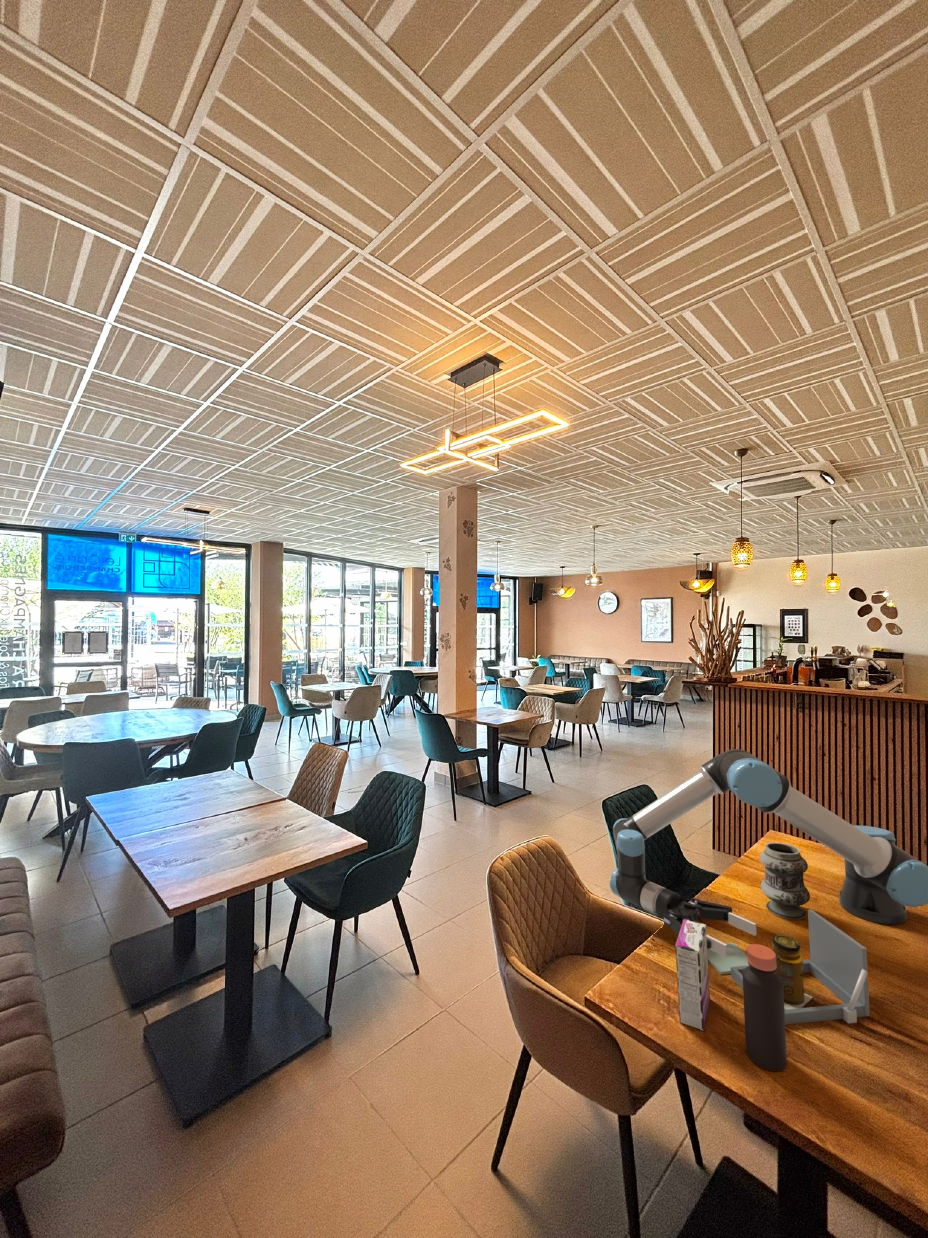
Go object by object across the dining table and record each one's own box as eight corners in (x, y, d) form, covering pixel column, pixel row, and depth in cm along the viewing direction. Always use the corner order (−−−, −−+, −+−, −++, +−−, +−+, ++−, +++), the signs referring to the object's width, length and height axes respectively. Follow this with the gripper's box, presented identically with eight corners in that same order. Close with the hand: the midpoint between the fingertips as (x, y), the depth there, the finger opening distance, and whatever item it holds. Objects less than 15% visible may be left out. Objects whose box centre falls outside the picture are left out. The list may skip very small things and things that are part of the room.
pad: (734, 945, 131) (734, 942, 131) (760, 971, 121) (760, 968, 121) (697, 948, 130) (697, 946, 130) (720, 974, 120) (720, 972, 120)
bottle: (772, 1042, 100) (767, 940, 101) (795, 1072, 94) (790, 962, 94) (738, 1044, 100) (733, 941, 101) (759, 1074, 93) (754, 964, 94)
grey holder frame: (814, 969, 121) (811, 909, 122) (875, 1020, 105) (871, 952, 105) (730, 976, 119) (728, 916, 120) (779, 1030, 103) (776, 961, 104)
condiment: (812, 998, 112) (810, 943, 112) (794, 1015, 107) (791, 957, 108) (777, 979, 118) (775, 927, 118) (758, 995, 113) (756, 941, 114)
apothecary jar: (792, 898, 152) (789, 838, 153) (821, 921, 140) (818, 856, 141) (752, 900, 152) (750, 840, 152) (778, 923, 140) (775, 858, 140)
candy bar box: (686, 990, 115) (683, 917, 116) (710, 998, 113) (707, 924, 113) (677, 1023, 106) (674, 944, 106) (704, 1033, 103) (700, 951, 104)
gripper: (688, 901, 145) (767, 936, 127) (633, 933, 131) (713, 978, 113) (687, 875, 145) (766, 906, 128) (632, 903, 131) (712, 944, 113)
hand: (741, 940), depth 120 cm, fingers open, 13 cm apart
